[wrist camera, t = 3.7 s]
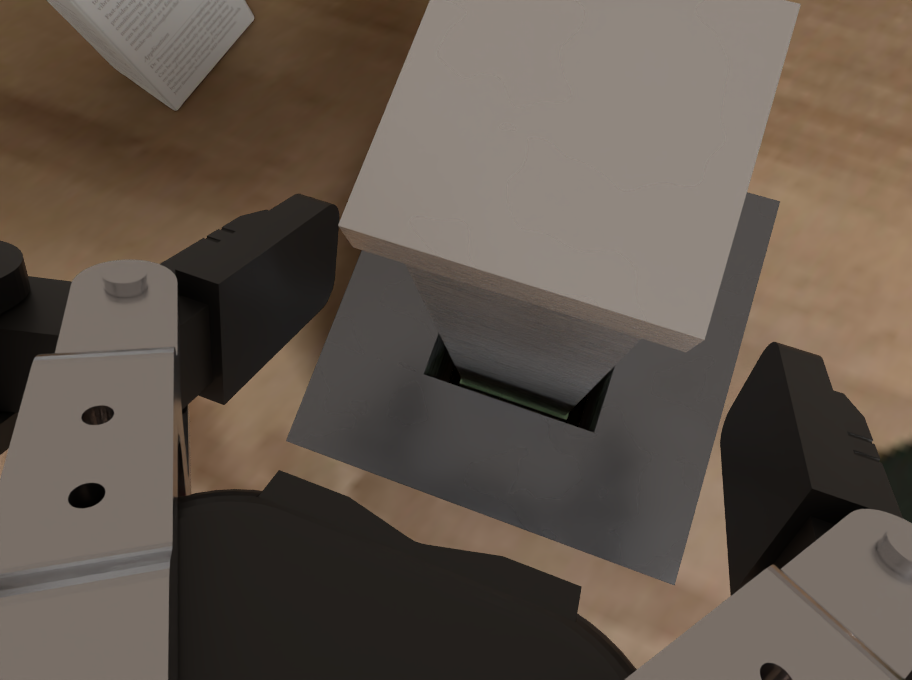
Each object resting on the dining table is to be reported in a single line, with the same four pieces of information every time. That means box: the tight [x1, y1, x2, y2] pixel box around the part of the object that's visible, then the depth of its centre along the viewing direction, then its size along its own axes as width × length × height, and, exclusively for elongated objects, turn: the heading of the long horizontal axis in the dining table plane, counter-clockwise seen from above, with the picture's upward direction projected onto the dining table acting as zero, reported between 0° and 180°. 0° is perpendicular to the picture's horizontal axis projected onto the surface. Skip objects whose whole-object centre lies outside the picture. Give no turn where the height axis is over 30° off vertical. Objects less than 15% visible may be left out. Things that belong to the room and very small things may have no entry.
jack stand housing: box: [286, 193, 780, 585], centre depth 22 cm, size 12×12×6 cm
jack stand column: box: [338, 0, 801, 422], centre depth 16 cm, size 5×5×17 cm
